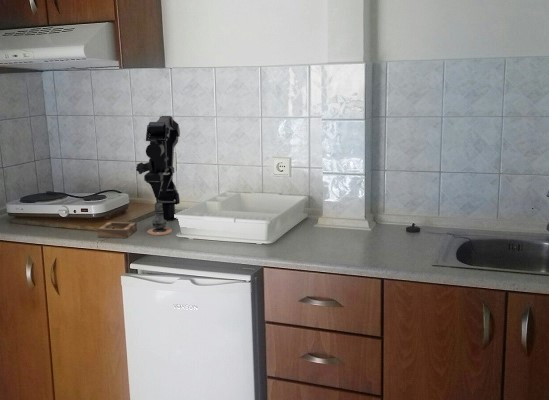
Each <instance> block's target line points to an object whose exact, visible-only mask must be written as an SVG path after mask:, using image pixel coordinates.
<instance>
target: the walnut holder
mask: <svg viewBox="0 0 549 400" xmlns="http://www.w3.org/2000/svg"><path fill="white" fill-rule="evenodd" d="M137 224H138V223H137V222H131V221H130V222H129V221H107V222H106V223H105V224H103V225H102V226H100V227H99V228H97V229H96V230H97V237H98V238H110V239H111V238H112V239H113V238H115V239H128V237H130V236H131V235H132V234H134V233H135V232H137V229H138V226H137ZM111 226H113V227H114V229H112V228H111Z"/></svg>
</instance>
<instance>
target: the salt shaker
mask: <svg viewBox="0 0 549 400" xmlns="http://www.w3.org/2000/svg"><path fill="white" fill-rule="evenodd" d="M163 212H164V211H163V204H162V203H161V202H159V200H158V202H155V204H154V211H153V213H154V219H153V220H151V224H152V226H153V228H155V229H153V232H165V231H167V230H166V229H165V228H166V226H167V223H168V220H164V218H163Z"/></svg>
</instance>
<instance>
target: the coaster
mask: <svg viewBox="0 0 549 400" xmlns="http://www.w3.org/2000/svg"><path fill="white" fill-rule="evenodd" d="M164 228H165V229H166V230H167V231H165V232H153V229H155V227H153V228H149V229H148V230H147V235H151V236H165V235H166V236H167V235H169V234H171V233H173V232H172V229H171V228H169V227H164Z"/></svg>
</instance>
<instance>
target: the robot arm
mask: <svg viewBox="0 0 549 400" xmlns="http://www.w3.org/2000/svg"><path fill="white" fill-rule="evenodd" d="M145 135H146V136H145V141H146V142H149V144H148V145H147V146H146V149H145V154H146V156H147V157H148V158H149V160H148V161H147V162H145V163H144V162H140V163H137V164H136V167H135V168H136V169H135V170H136V172H138V175H142V174H143V173H145V174H144V177H143V181H144V182H145V183H148V184H149V185H150V186H151V187H150V188H151V189H152V192H153V195H154V198H155V200H156V202H158V200H159V202H161V203H162V204H163V211H164V212H163V218H164V220H167V221H168V220H170V221H174V220H176V218H174V214H175V215H176V205H180V202H181V201H180V194H179V192H178V190H177V187H176V185H175V182H174V181H173V180H174V179H173V178H174V173H175V167H174V160H175V159H174V158H175V154H174V153H175V152H174V151H175V147H176V146H177V144H178V143H179V138H180V137H181V136H180V135H181V131H180V126H179V123H178V122H177V121H175V120H174V119H173V116H171V115H161V116H159V119H158V120H157V121H149V122H148V124H147V126H146V134H145ZM156 202H155V203H156Z"/></svg>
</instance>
